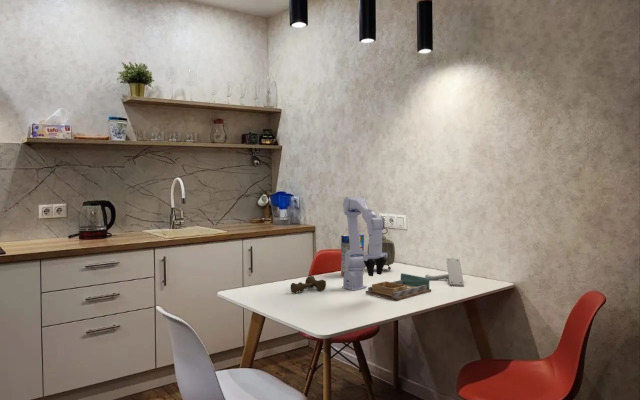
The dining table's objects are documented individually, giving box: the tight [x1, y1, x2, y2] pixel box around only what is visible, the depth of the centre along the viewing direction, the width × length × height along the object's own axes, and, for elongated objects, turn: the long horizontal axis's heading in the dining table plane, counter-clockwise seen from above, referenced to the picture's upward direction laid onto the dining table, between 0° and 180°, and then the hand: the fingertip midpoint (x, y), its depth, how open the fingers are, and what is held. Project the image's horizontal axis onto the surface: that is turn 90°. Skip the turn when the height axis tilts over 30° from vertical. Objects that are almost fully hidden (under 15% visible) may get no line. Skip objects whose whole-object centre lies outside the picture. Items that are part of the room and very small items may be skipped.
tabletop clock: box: [367, 227, 396, 272], centre depth 274 cm, size 14×9×25 cm, turn 94°
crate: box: [371, 280, 407, 296], centre depth 218 cm, size 10×12×3 cm
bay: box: [365, 272, 432, 302], centre depth 223 cm, size 26×18×6 cm
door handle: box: [424, 257, 465, 287], centre depth 247 cm, size 18×8×20 cm
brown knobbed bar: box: [289, 275, 327, 295], centre depth 226 cm, size 6×10×20 cm
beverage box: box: [340, 233, 365, 277], centre depth 260 cm, size 7×11×22 cm, turn 135°
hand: (375, 275), depth 211 cm, fingers open, 5 cm apart
